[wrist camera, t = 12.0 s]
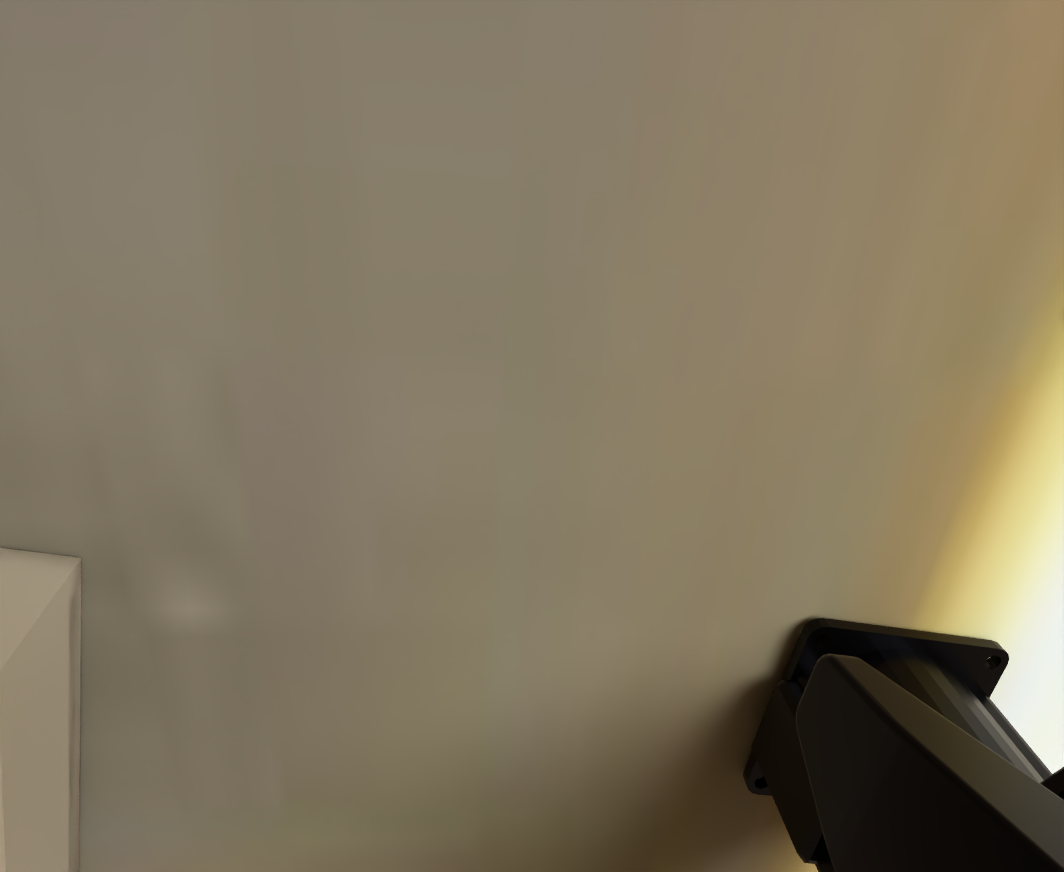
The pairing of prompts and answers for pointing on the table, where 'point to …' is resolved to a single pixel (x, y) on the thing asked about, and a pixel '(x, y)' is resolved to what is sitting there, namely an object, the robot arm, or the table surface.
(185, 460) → the table surface
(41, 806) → the box
